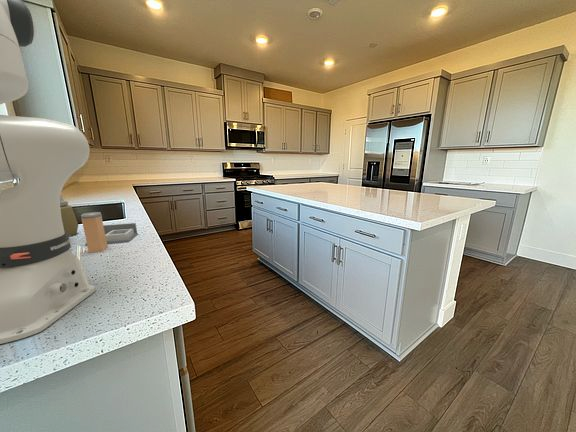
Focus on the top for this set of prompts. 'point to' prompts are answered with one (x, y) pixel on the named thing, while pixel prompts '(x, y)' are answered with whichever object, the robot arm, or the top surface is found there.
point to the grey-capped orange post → (94, 231)
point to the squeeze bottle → (68, 218)
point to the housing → (119, 233)
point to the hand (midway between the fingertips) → (50, 173)
